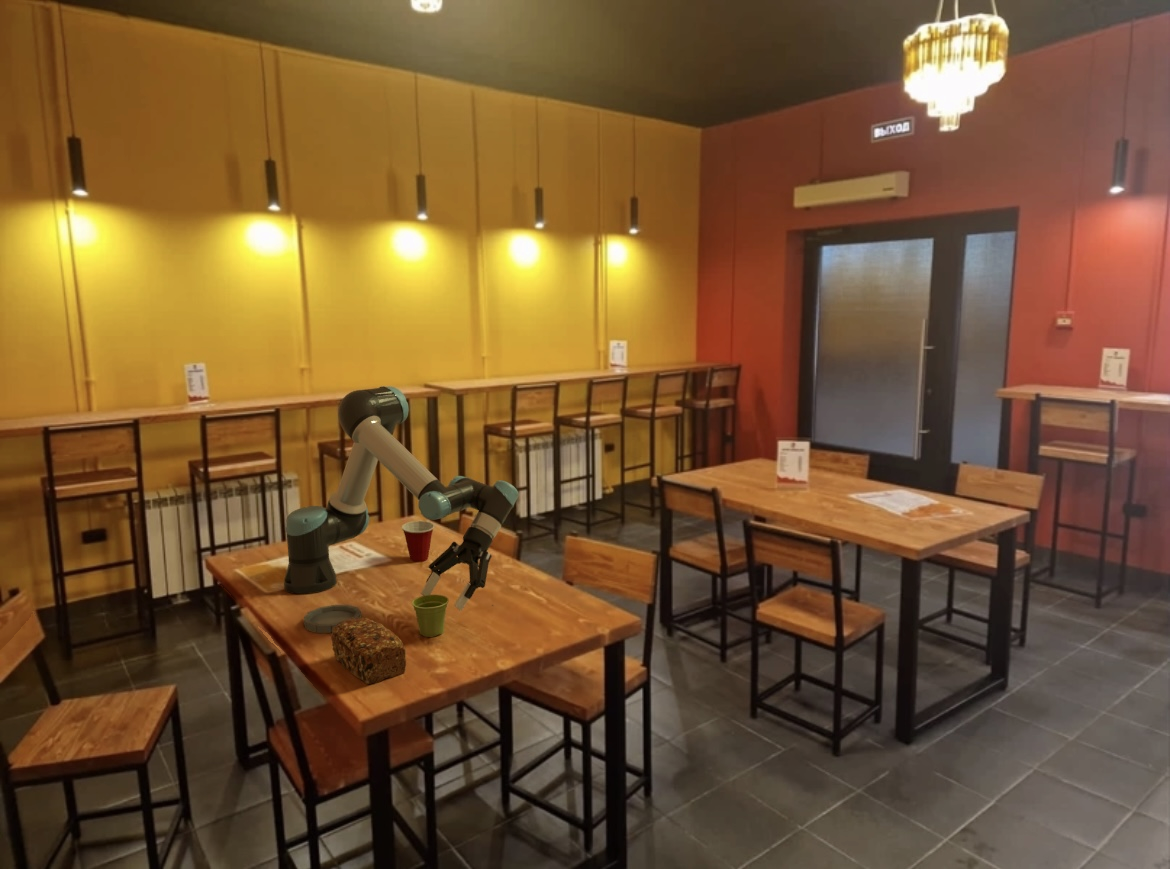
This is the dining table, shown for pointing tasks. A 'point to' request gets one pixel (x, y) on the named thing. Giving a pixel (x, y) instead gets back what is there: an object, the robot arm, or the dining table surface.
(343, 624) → the bread
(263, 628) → the dining table surface
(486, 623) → the dining table surface
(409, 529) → the plastic cup
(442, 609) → the plant pot
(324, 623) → the saucer
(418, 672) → the dining table surface
